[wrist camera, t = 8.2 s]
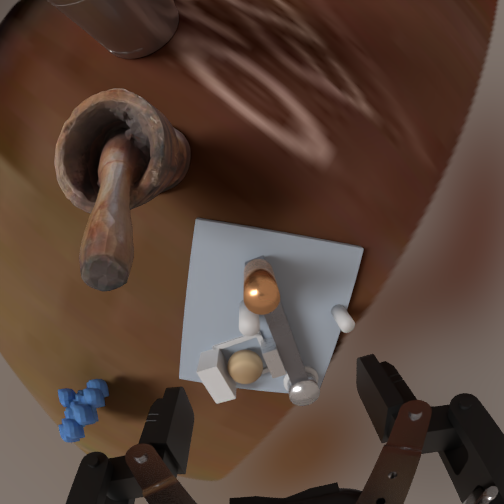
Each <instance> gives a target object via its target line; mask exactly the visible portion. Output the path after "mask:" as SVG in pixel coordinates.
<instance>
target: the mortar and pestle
mask: <svg viewBox="0 0 504 504" xmlns="http://www.w3.org/2000/svg"><path fill="white" fill-rule="evenodd" d="M190 158H191V152H190V146H189V143H188V141H187V139H186V138H185V136H184V135H183V134H182V133H181V132H179V131H178V130H177V129H175V128H174V127H172V125H171V123H170V122H169V121H168V119H167V118H166V117H165V116H164V115H163V114H162V113H161V112H160V111H159V110H158V109H157V108H155V107H154V106H152V105H151V104H150V103H149V102H148V101H146V100H145V99H143V98H142V97H140V96H138V95H136V94H134V93H132V92H129V91H127V90H125V89H116V88H114V89H110V90H108V91H102V92H100V93H98V94H95V95H93V96H91V97H89V98H88V99H86V100H85V101H83V102H82V103H81V104H80V105H79V106H78V107H76V108H75V109H74V110H73V112H72V115H71V116H70V117H69V119H68V120H67V121H66V122H65V123H64V126H63V128H62V130H61V133H60V136H59V139H58V141H57V144H56V150H55V169H56V174H57V180H58V183H59V185H60V187H61V189H62V190H63V192H64V193H65V196H66V197H67V199H69V200H71V202H72V203H73V205H74V206H76V207H78V208H80V209H82V210H84V211H86V212H88V213H91V214H90V217H89V220H88V223H87V226H86V229H85V232H84V235H83V239H82V242H81V246H80V254H79V260H80V271H81V277H82V279H83V281H84V282H85V283H86V284H87V285H88V286H90V287H92V288H94V289H97V290H100V291H110V290H113V289H116V288H118V287H121V286H122V285H124V284H126V283H127V280H128V277H129V273H130V270H131V267H132V262H133V258H134V246H133V231H132V222H131V215H130V210H131V209H133V208H135V207H138V206H141V205H143V204H145V203H147V202H149V201H150V200H152V199H153V198H155V197H156V196H157V195H159V194H160V193H161V192H164V191H166V190H169V189H171V188H173V187H175V186H176V185H177V184H179V183H180V182H181V181H182V180H183V178H184V177H185V175H186V173H187V171H188V169H189V164H190Z"/></svg>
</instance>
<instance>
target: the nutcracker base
mask: <svg viewBox="0 0 504 504" xmlns="http://www.w3.org/2000/svg"><path fill="white" fill-rule="evenodd" d="M363 250H364V248H362V247H360V246H357V245H351V244H346V243H341V242H336V241H330V240H325V239H319V238H314V237H308V236H303V235H297V234H292V233H286V232H281V231H275V230H269V229H263V228H258V227H252V226H246V225H240V224H234V223H228V222H222V221H216V220H209V219H203V218H197V219H196V221H195V228H194V236H193V243H192V251H191V259H190V267H189V275H188V284H187V293H186V302H185V312H184V323H183V334H182V346H181V359H180V373H179V379H185V380H190V381H196V382H201V383H203V384H204V385H205V387H206V388H207V390H208V392H209V393H210V395H211V396H212V398H213V399H214V401H215V402H216V404H218V403H221V402H225V401H229V400H232V399H236V388H242V389H251V390H260V391H270V392H281V393H289V392H288V387H287V382H288V380H289V376H288V374H286V375H283V376H280V377H277V378H274V379H273V378H272V376H271V373H270V371H269V369H268V367H267V364H266V362H265V360H264V358H263V355H262V349H261V340H264V339H267V338H270V337H272V334H271V332H270V329H269V327H268V324H267V322H266V319H265V317H264V315H259V314H255V313H253V312H251V311H249V310H248V309H247V307H246V306H245V304H244V298H243V295H244V268H245V262H246V261H248V260H251V259H254V258H257V257H260V256H262V255H264V257H265V260H266V261H267V262H269V263H270V265H271V266H272V269H273V272H274V275H275V279H276V282H277V286H278V289H279V292H280V301H281V303H282V306H283V309H284V312H285V314H286V317H287V320H288V323H289V325H290V328H291V331H292V334H293V336H294V339H295V342H296V345H297V347H298V350H299V353H300V356H301V358H302V361H303V364H304V367H305V369H306V372H309V373H312V374H313V375H314V376H315V378H316V381H317V384H318V387H319V390H320V387H321V384H322V382H323V379H324V376H325V374H326V371H327V368H328V365H329V363H330V360H331V357H332V354H333V351H334V348H335V345H336V342H337V339H338V336H339V333H340V330H341V331H342V332H344V333H348V332H350V331H352V330H353V329H354V327H355V322H354V321H353V319H352V318H351V316H350V315H349V314H348V312H347V308H348V305H349V301H350V298H351V294H352V291H353V287H354V284H355V280H356V277H357V273H358V269H359V265H360V262H361V258H362V254H363ZM239 350H251V351H253V352H255V353H257V354H258V355H259V356H260V358H261V360H262V362H263V371H262V374H261V376H260V377H259V378H258V379H257V380H256V381H255V382H253V383H250V384H241V383H238V382H236V381H234V380H233V379H232V378H231V377H230V375H229V373H228V369H227V365H228V361H229V359H230V357H231V356H232V355H233V354H234V353H235V352H237V351H239ZM286 373H287V371H286Z"/></svg>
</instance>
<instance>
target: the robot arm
mask: <svg viewBox="0 0 504 504" xmlns="http://www.w3.org/2000/svg"><path fill="white" fill-rule="evenodd" d="M47 1H48V2H49V3H51V4H52V5H53V6H55V7H56V8H57V9H59V10H60V11H61V12H62V13H64V14H65V15H66V16H67V17H69V18H70V19H71V20H72V21H74V22H75V23H76V24H77V25H79V26H80V27H81V28H82V29H83V30H85V31H86V32H87V33H88V34H89V35H91V36H92V37H93V38H94V39H95V40H97V41H98V42H99V43H100V44H101V45H103V46H104V47H105V48H106V49H107V50H109V51H110V52H111V53H112V54H114V55H115V56H117V57H120V58H124V59H134V58H140V57H143V56H147V55H149V54H151V53H153V52H155V51H156V50H158V49H160V48H161V47H162V46H163V45H165V44H166V43H167V42H168V41H169V40H170V38H171V37H172V36H173V34H174V33H175V31H176V29H177V26H178V23H179V14H178V10H177V8H176V5H175V3H174V0H47ZM356 383H357V390H358V393H359V396H360V398H361V400H362V402H363V404H364V406H365V408H366V411H367V413H368V415H369V417H370V419H371V421H372V423H373V425H374V427H375V430H376V432H377V434H378V436H379V438H380V441H381V443H385V442H387V444H386V445H384V447H383V449H382V451H381V453H380V455H379V458H378V460H377V462H376V464H375V467H374V469H373V471H372V473H371V475H370V477H369V479H368V481H367V483H366V485H365V487H364V489H363V491H360V490H356V489H347V488H339V487H338V484H337V483H332V484H328V485H324V486H319V487H314V488H310V489H308V490H305V491H303V492H300V493H298V494H295V495H292V496H290V497H287V498H270V497H259V496H254V497H241V498H230V504H403V503H404V501H405V498H406V496H407V494H408V491H409V488H410V486H411V483H412V480H413V478H414V475H415V472H416V469H417V466H418V463H419V460H420V457H421V454H424V453H432V452H438V453H439V455H440V457H441V459H442V461H443V463H444V465H445V467H446V470H447V471H448V474H449V476H450V478H451V480H452V482H453V484H454V486H455V489H456V491H457V493H458V495H459V497H460V500H461V502H462V504H504V434H503V433H502V431H501V430H500V428H499V427H498V426H497V424H496V423H495V421H494V420H493V419H492V417H491V416H490V414H489V413H488V412H487V410H486V409H485V408H484V406H483V405H482V404H481V402H480V401H479V400H478V399H477V398H476V397H475V396H473V395H472V394H467V393H463V394H459V395H457V396H455V397H454V398H453V399H452V400H451V402H450V405H443V406H436V407H431V406H430V405H429V404H428V403H426V402H424V401H421V400H417V399H416V397H415V396H414V395H413V393H412V392H411V390H410V389H409V387H408V386H407V384H406V383H405V381H404V380H402V377H401V376H400V375H399V373H398V371H397V370H396V369H395V367H394V366H393V365H391V364H389V363H387V362H386V361H385V362H381V363H379V362H378V360H377V359H376V357H375V355H374V354H370V355H367V356H363V357H360V358H358V359H357V381H356ZM193 425H194V413H193V409H192V407H191V404H190V402H189V400H188V397H187V395H186V392H185V390H184V388H183V387H172V388H166V390H165V393H164V396H163V398H162V399H157V400H156V401H155V402H154V403H153V405H152V406H151V408H150V411H149V415H148V417H147V422H146V423H145V426H144V429H143V432H142V435H141V438H140V441H139V444H137V445H134V446H132V447H131V448H130V449H129V450H128V451H127V452H126V455H125V456H120V457H115V458H109V459H108V458H107V456H106V455H105V454H104V453H101V452H92V453H89V454H87V455H86V456H85V457H84V458H83V459H82V461H81V463H80V466H79V468H78V471H77V474H76V476H75V479H74V482H73V484H72V487H71V490H70V493H69V496H68V499H67V502H66V504H134V502H135V498H139V497H144V498H145V499H146V501H147V502H148V504H197V503H196V502H195V501H194V500H193V498H192V497H191V496H190V495H189V494H188V492H187V491H186V490H185V489H184V488H183V486H182V485H181V484H180V482H179V481H178V480H177V479H176V477H177V474H186V467H187V461H188V455H189V449H190V443H191V437H192V431H193Z"/></svg>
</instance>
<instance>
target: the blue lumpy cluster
mask: <svg viewBox="0 0 504 504" xmlns="http://www.w3.org/2000/svg"><path fill="white" fill-rule="evenodd" d="M58 395H59V400H60V403H61V404H62V405H63V406H64V407H67V408H66V411H64V413H65V417H66V418H64V419H62V424H61V425H59V431H60V435H61V438H62V439H63V440H64V441H65V442H77V441H80V439H79V438H83V437H85V435H84V429H83V427H85V425H89V424H93V423H95V422H97V421H98V415H97V410H96V408H99V407H103V406H105V400H104V397H107V396H109V391H108V386H107V384H106V382H105V381H104V380H102V379H94V380H89V382H87V388H86V389H83V390H78V393H77V394H76V393H75V392H74V391H73V390H72V389H67V388H65V389H59V390H58Z"/></svg>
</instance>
